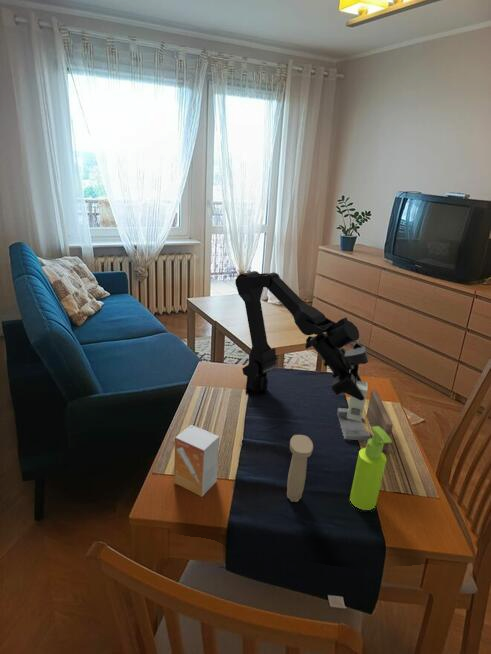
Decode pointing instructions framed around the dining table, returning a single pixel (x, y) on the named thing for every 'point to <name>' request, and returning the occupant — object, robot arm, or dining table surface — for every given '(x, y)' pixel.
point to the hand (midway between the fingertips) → (363, 395)
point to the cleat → (352, 427)
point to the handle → (298, 466)
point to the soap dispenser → (369, 471)
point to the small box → (196, 460)
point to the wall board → (379, 418)
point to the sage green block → (357, 403)
